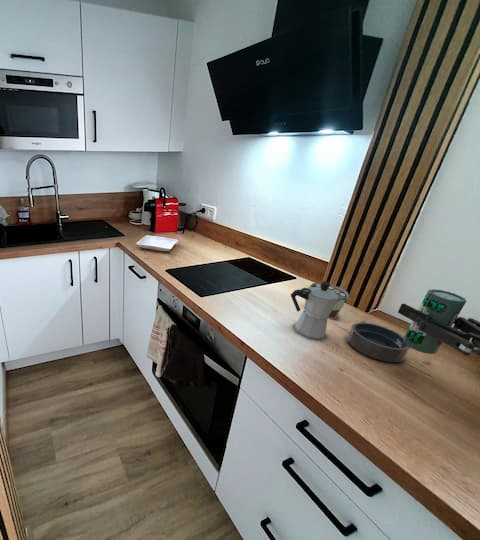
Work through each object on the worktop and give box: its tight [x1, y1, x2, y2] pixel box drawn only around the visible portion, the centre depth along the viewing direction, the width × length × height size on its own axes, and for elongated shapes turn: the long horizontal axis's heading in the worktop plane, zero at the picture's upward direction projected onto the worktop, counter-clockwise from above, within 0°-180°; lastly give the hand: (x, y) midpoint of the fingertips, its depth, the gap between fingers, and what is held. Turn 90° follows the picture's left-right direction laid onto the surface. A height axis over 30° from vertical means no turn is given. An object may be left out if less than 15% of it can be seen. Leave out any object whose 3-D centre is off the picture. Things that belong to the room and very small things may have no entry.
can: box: [403, 288, 467, 355], centre depth 71 cm, size 6×6×15 cm
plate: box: [135, 234, 180, 252], centre depth 171 cm, size 21×21×3 cm
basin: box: [346, 322, 411, 363], centre depth 86 cm, size 13×13×5 cm
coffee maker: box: [290, 281, 345, 341], centre depth 91 cm, size 15×9×18 cm, turn 76°
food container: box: [309, 282, 350, 321], centre depth 105 cm, size 12×6×10 cm, turn 34°
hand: (413, 307), depth 75 cm, fingers closed on can, 6 cm apart
